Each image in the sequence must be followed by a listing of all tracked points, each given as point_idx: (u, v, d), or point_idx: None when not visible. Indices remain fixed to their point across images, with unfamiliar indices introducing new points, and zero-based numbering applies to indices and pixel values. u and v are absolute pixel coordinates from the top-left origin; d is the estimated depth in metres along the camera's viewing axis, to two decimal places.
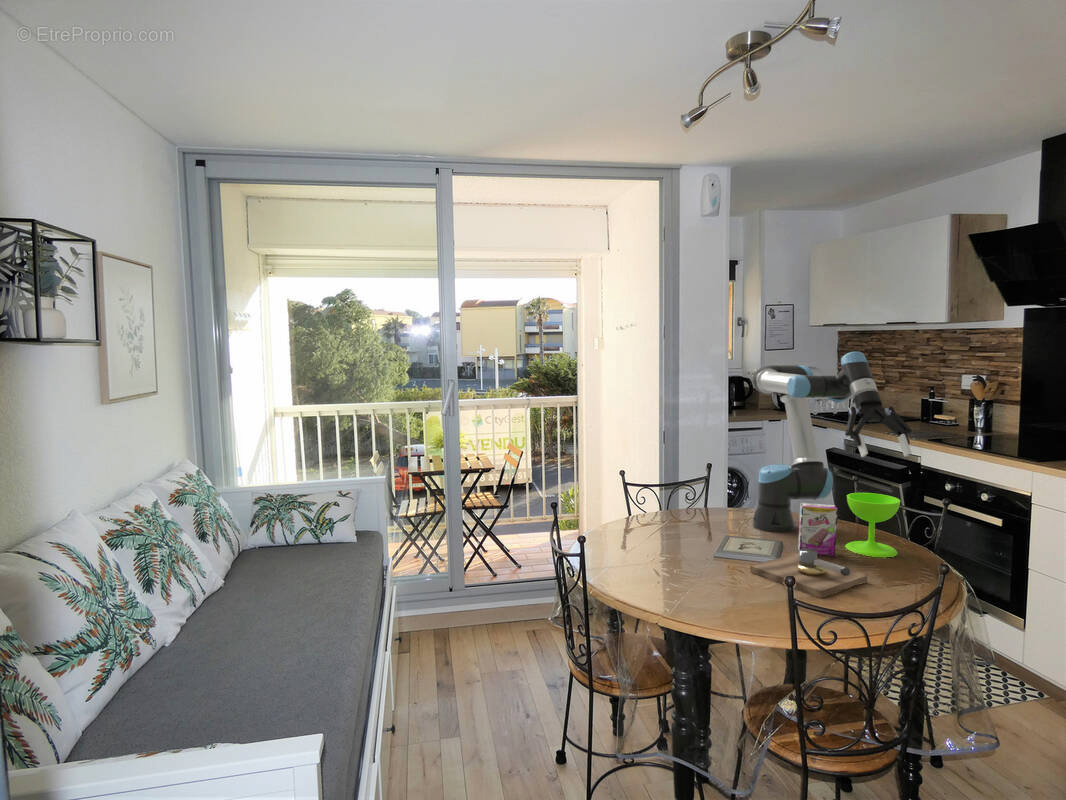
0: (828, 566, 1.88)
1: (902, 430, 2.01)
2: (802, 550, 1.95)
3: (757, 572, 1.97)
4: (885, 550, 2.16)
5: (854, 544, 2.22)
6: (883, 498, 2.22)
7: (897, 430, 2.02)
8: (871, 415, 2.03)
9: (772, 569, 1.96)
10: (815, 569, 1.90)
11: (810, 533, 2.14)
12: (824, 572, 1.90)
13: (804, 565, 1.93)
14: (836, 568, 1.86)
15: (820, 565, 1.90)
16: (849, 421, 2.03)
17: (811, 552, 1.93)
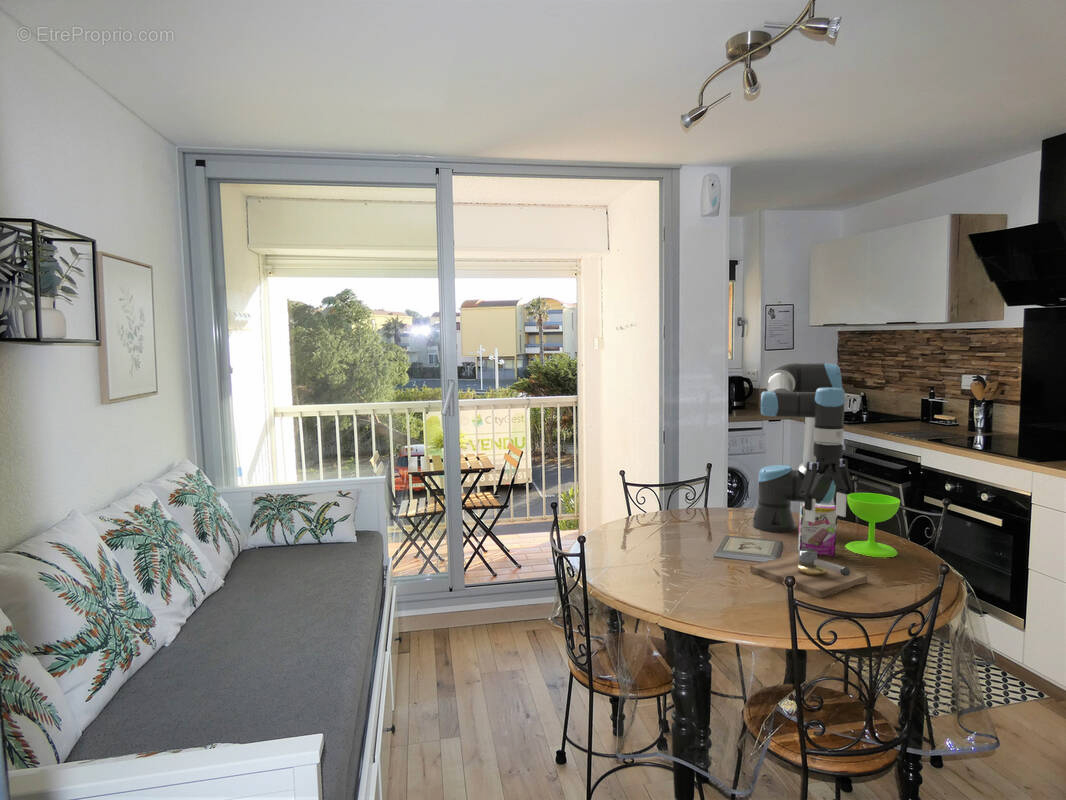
0: (828, 566, 1.88)
1: (845, 489, 1.85)
2: (802, 550, 1.95)
3: (757, 572, 1.97)
4: (885, 550, 2.16)
5: (854, 544, 2.22)
6: (883, 498, 2.22)
7: (841, 487, 1.85)
8: None
9: (772, 569, 1.96)
10: (815, 569, 1.90)
11: (810, 533, 2.14)
12: (824, 572, 1.90)
13: (804, 565, 1.93)
14: (836, 568, 1.86)
15: (820, 565, 1.90)
16: (807, 480, 1.79)
17: (811, 552, 1.93)
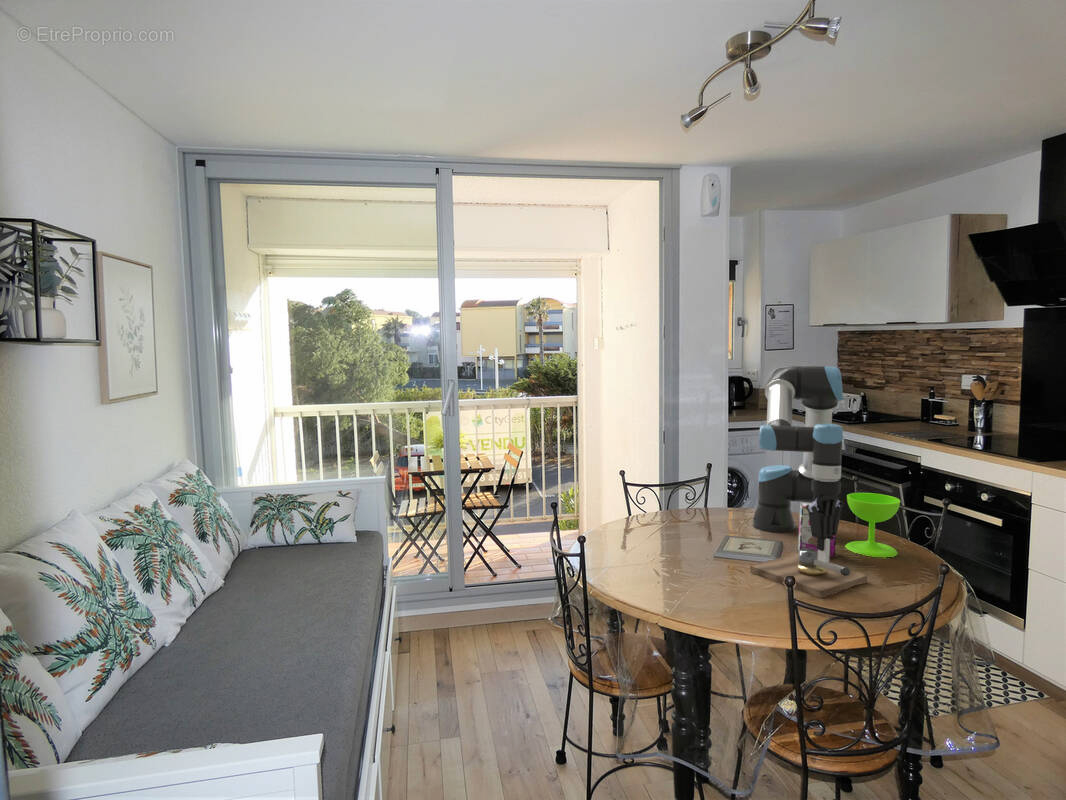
0: (828, 566, 1.88)
1: (830, 533, 1.83)
2: (802, 550, 1.95)
3: (757, 572, 1.97)
4: (885, 550, 2.16)
5: (854, 544, 2.22)
6: (883, 498, 2.22)
7: (827, 529, 1.84)
8: None
9: (772, 569, 1.96)
10: (815, 569, 1.90)
11: (810, 533, 2.14)
12: (824, 572, 1.90)
13: (804, 565, 1.93)
14: (836, 568, 1.86)
15: (820, 565, 1.90)
16: (814, 523, 1.81)
17: (811, 552, 1.93)
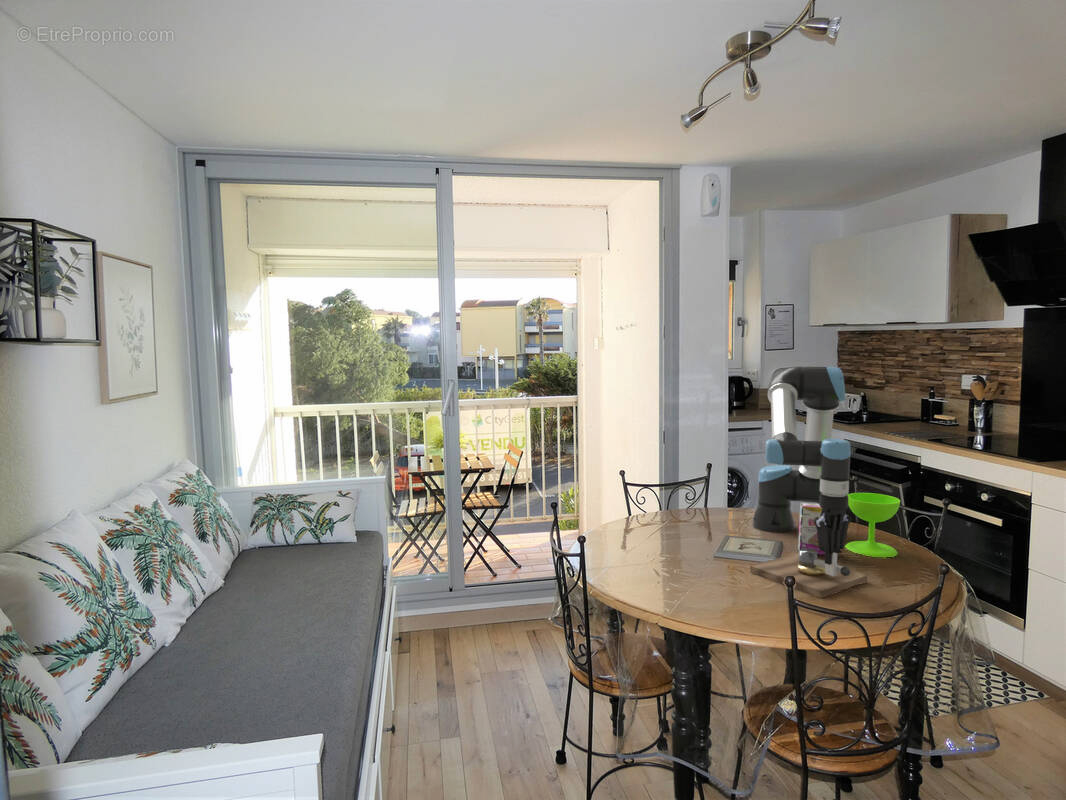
0: None
1: (838, 547, 1.85)
2: (802, 550, 1.95)
3: (757, 572, 1.97)
4: (885, 550, 2.16)
5: (854, 544, 2.22)
6: (883, 498, 2.22)
7: (834, 543, 1.86)
8: None
9: (772, 569, 1.96)
10: (815, 569, 1.90)
11: (810, 533, 2.14)
12: (824, 572, 1.90)
13: (804, 565, 1.93)
14: None
15: (820, 565, 1.90)
16: (821, 537, 1.83)
17: (811, 552, 1.93)
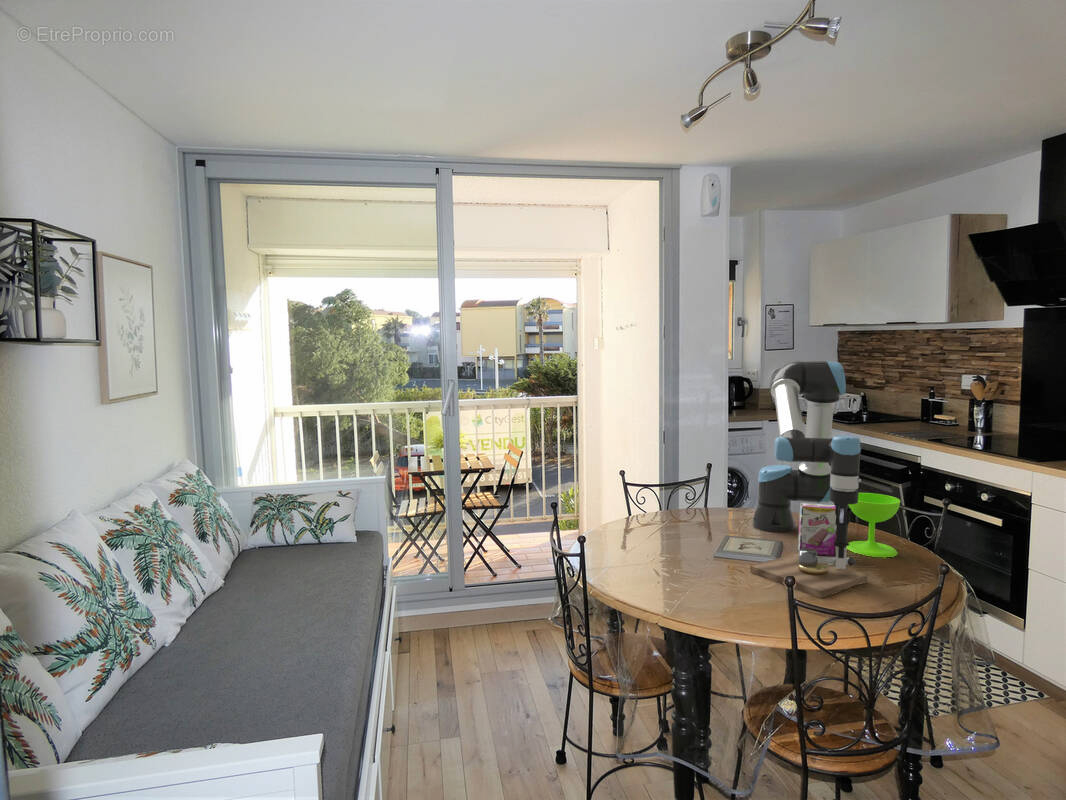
0: (834, 561, 1.92)
1: (846, 540, 1.91)
2: (804, 551, 1.93)
3: (757, 572, 1.97)
4: (885, 550, 2.16)
5: (854, 544, 2.22)
6: (883, 498, 2.22)
7: None
8: (846, 517, 1.89)
9: (772, 569, 1.96)
10: (822, 567, 1.92)
11: (810, 533, 2.14)
12: None
13: (812, 566, 1.92)
14: None
15: (825, 562, 1.93)
16: (841, 533, 1.86)
17: (813, 551, 1.94)
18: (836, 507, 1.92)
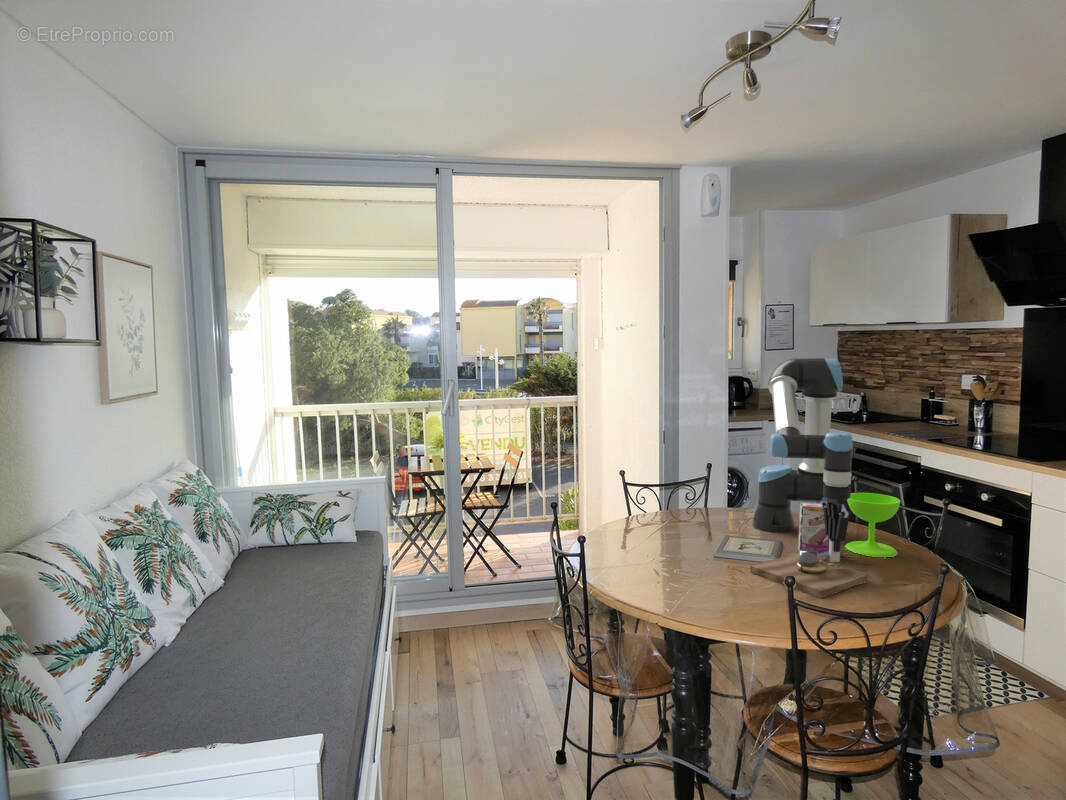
0: (827, 556, 1.97)
1: None
2: (807, 552, 1.93)
3: (757, 572, 1.97)
4: (885, 550, 2.16)
5: (854, 544, 2.22)
6: (883, 498, 2.22)
7: None
8: None
9: (772, 569, 1.96)
10: (821, 564, 1.95)
11: (810, 533, 2.14)
12: None
13: (815, 565, 1.93)
14: None
15: (821, 558, 1.96)
16: (843, 527, 1.91)
17: (812, 550, 1.94)
18: (828, 503, 1.96)
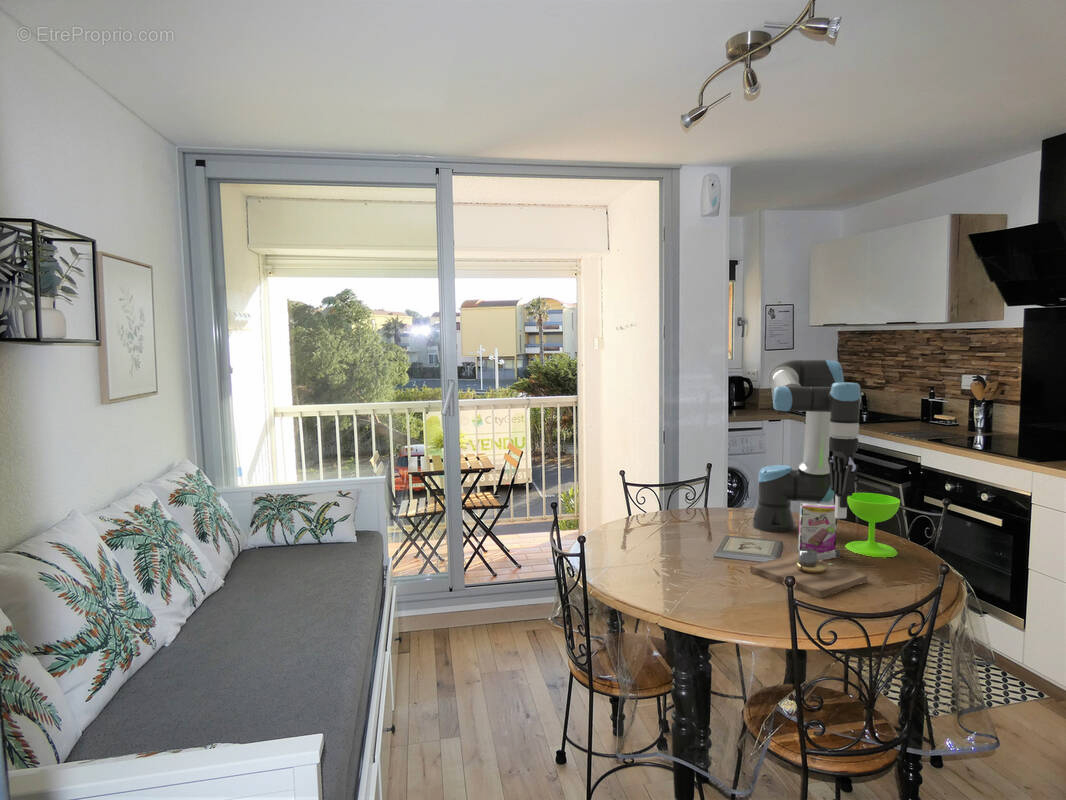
0: (827, 556, 1.97)
1: None
2: (807, 552, 1.93)
3: (757, 572, 1.97)
4: (885, 550, 2.16)
5: (854, 544, 2.22)
6: (883, 498, 2.22)
7: None
8: None
9: (772, 569, 1.96)
10: (821, 564, 1.95)
11: (810, 533, 2.14)
12: None
13: (815, 565, 1.93)
14: (833, 554, 1.98)
15: (821, 558, 1.96)
16: (851, 481, 1.81)
17: (812, 550, 1.94)
18: (835, 456, 1.86)
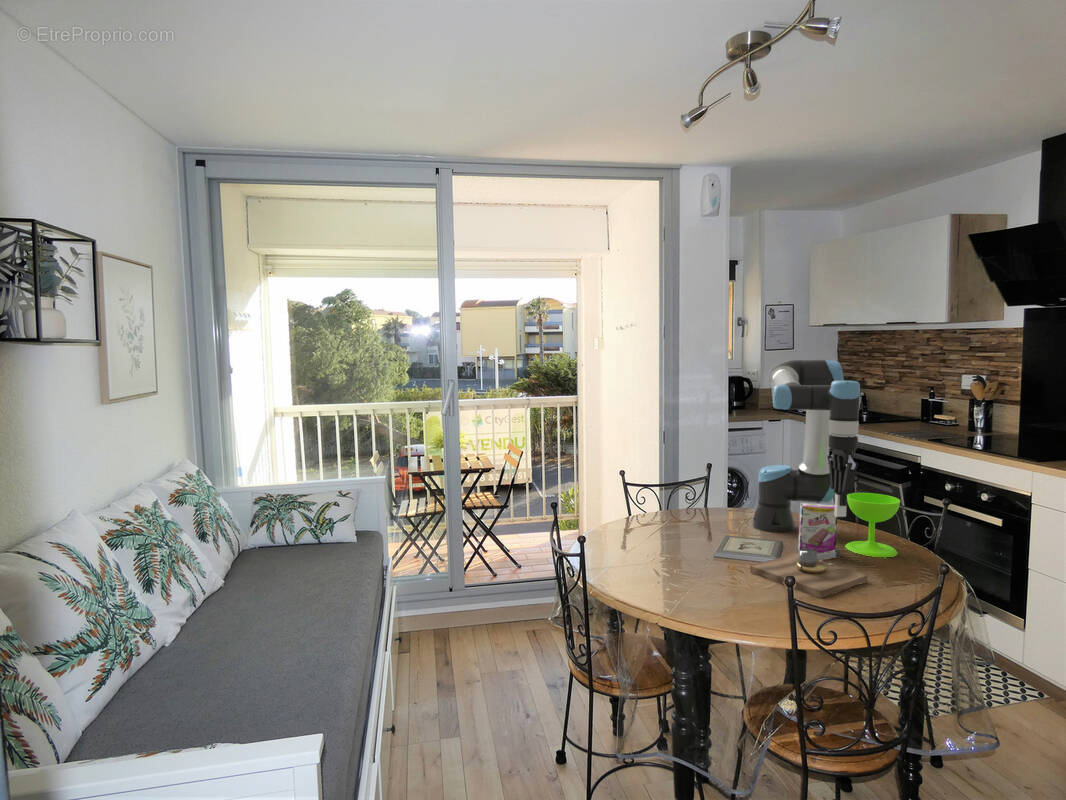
0: (827, 556, 1.97)
1: None
2: (807, 552, 1.93)
3: (757, 572, 1.97)
4: (885, 550, 2.16)
5: (854, 544, 2.22)
6: (883, 498, 2.22)
7: None
8: None
9: (772, 569, 1.96)
10: (821, 564, 1.95)
11: (810, 533, 2.14)
12: None
13: (815, 565, 1.93)
14: (833, 554, 1.98)
15: (821, 558, 1.96)
16: (850, 480, 1.81)
17: (812, 550, 1.94)
18: (834, 455, 1.86)
